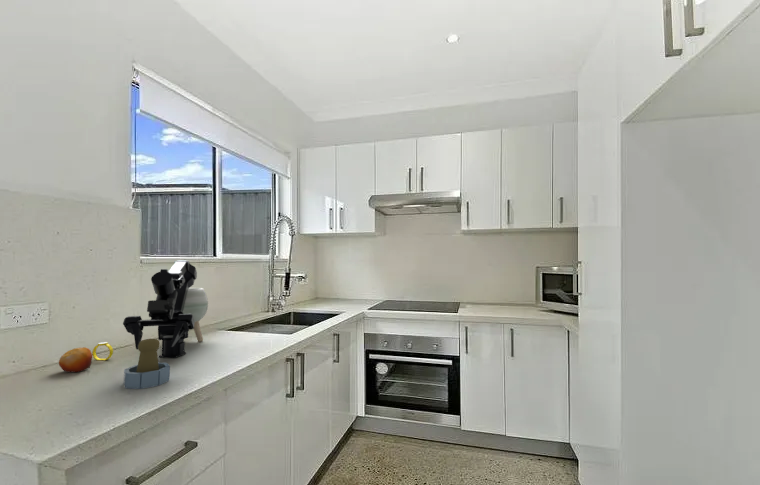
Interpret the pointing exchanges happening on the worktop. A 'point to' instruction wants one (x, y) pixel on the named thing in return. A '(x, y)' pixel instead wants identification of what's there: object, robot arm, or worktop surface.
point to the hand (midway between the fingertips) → (154, 347)
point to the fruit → (76, 360)
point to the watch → (102, 345)
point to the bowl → (146, 377)
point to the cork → (148, 356)
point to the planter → (196, 307)
